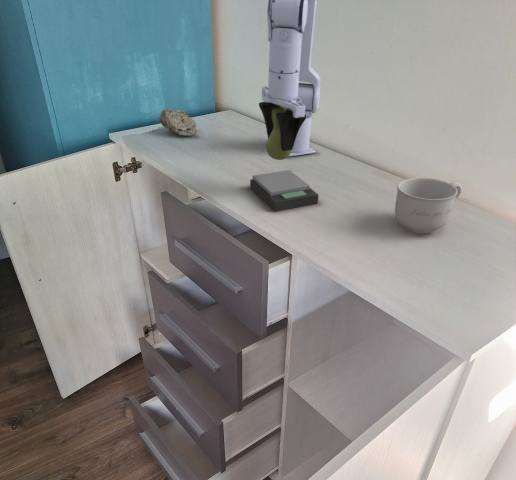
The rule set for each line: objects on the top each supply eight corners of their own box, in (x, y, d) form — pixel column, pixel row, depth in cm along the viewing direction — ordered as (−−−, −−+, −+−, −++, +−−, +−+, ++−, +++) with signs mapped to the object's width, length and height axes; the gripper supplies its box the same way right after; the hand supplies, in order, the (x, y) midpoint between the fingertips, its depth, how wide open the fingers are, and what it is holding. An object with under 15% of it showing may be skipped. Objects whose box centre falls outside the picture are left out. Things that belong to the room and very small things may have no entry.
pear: (293, 163, 102) (297, 111, 96) (268, 164, 102) (270, 111, 95) (288, 153, 107) (292, 103, 100) (263, 154, 106) (265, 103, 99)
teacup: (406, 242, 93) (417, 201, 88) (380, 216, 101) (388, 177, 96) (471, 234, 97) (485, 194, 91) (440, 209, 104) (451, 171, 99)
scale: (250, 188, 110) (250, 175, 108) (290, 181, 113) (291, 169, 111) (274, 211, 101) (275, 198, 100) (317, 203, 105) (319, 190, 103)
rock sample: (178, 127, 127) (171, 95, 128) (160, 142, 132) (154, 112, 133) (209, 137, 134) (202, 107, 135) (191, 151, 139) (184, 122, 140)
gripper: (248, 62, 97) (247, 135, 106) (282, 81, 87) (278, 159, 96) (281, 60, 99) (277, 131, 108) (318, 78, 90) (310, 155, 98)
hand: (280, 144), depth 102 cm, fingers closed on pear, 5 cm apart
